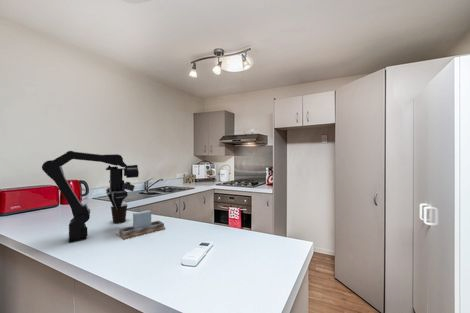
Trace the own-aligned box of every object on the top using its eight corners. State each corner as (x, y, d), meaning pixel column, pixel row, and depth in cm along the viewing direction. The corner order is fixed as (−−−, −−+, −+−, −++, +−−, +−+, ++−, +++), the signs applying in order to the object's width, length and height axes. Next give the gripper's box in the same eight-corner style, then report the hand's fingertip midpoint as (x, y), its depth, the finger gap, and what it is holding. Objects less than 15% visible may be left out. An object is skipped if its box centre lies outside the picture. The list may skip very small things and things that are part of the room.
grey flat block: (135, 232, 103) (134, 214, 103) (133, 230, 105) (133, 213, 105) (151, 228, 108) (151, 211, 108) (149, 227, 110) (149, 210, 110)
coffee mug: (122, 224, 118) (122, 206, 118) (107, 224, 118) (107, 206, 118) (132, 218, 130) (132, 202, 130) (119, 218, 130) (119, 202, 130)
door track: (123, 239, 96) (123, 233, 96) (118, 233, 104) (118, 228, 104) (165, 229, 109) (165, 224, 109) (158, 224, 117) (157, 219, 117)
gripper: (138, 178, 105) (138, 209, 105) (128, 176, 119) (128, 203, 119) (113, 180, 97) (113, 213, 97) (105, 177, 111) (106, 206, 111)
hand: (116, 208), depth 107 cm, fingers open, 9 cm apart
